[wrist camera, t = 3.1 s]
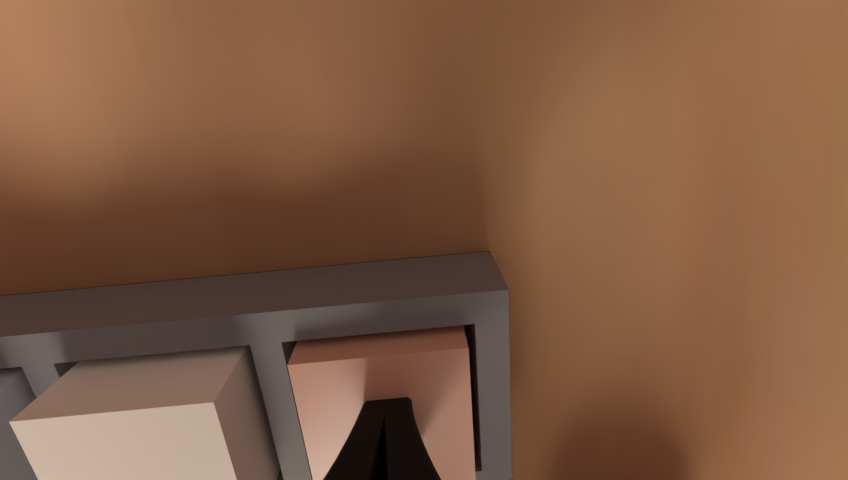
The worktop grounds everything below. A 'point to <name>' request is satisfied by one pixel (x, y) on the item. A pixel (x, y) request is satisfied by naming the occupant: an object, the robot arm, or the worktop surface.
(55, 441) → the cream key
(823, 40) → the worktop surface
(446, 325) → the key panel
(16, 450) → the light gray key
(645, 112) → the worktop surface
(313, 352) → the terracotta key
